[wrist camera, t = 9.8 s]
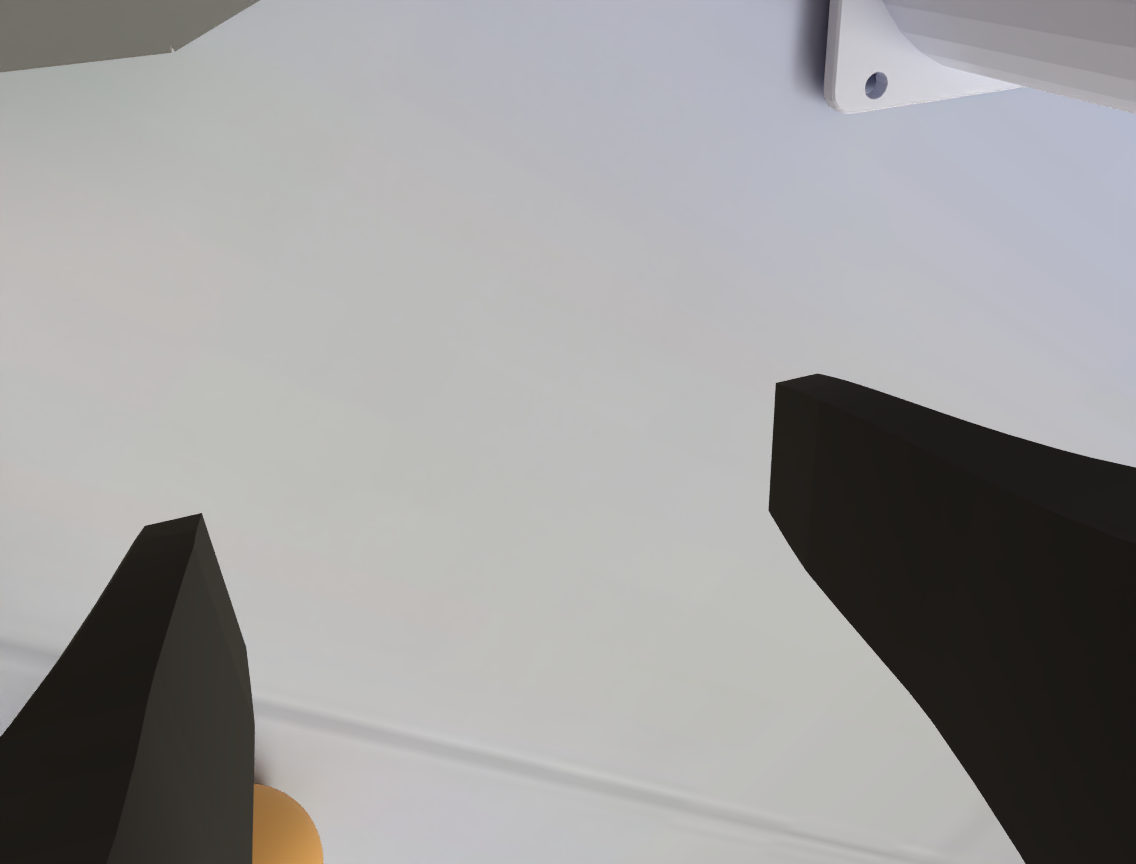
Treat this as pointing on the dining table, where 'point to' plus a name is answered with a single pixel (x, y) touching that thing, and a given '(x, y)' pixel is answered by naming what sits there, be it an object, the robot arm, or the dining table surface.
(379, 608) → the dining table surface
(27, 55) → the round tray
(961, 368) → the dining table surface
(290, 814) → the figurine
